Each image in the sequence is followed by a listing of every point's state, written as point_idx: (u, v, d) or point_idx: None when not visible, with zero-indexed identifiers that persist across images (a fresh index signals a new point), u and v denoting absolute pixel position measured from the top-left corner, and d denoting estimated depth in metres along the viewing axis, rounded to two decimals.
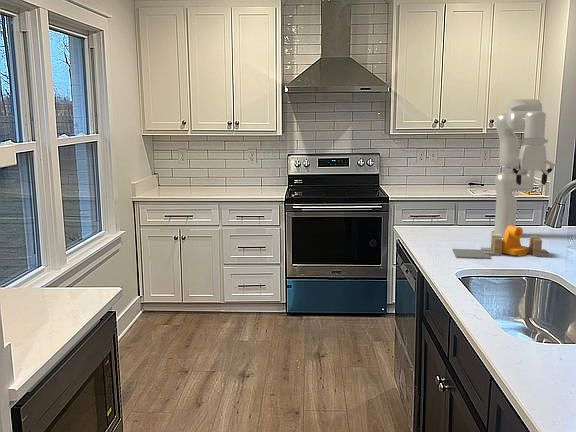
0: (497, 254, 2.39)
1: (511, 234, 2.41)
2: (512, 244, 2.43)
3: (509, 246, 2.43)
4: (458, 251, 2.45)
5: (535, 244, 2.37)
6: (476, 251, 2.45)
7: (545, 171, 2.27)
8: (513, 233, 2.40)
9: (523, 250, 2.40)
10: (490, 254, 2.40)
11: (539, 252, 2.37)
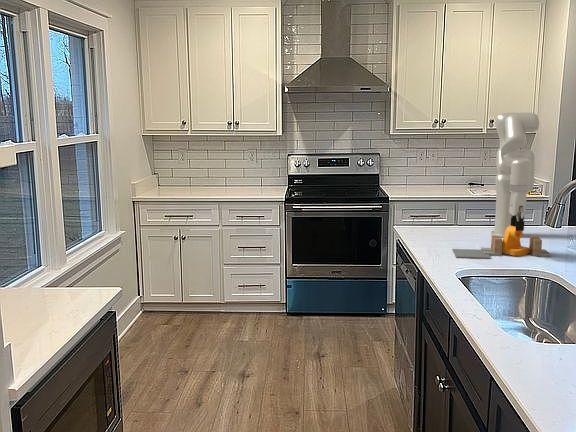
0: (497, 254, 2.39)
1: (511, 234, 2.41)
2: (512, 244, 2.43)
3: (509, 247, 2.43)
4: (458, 251, 2.45)
5: (535, 244, 2.37)
6: (476, 251, 2.45)
7: None
8: (513, 233, 2.40)
9: (523, 250, 2.40)
10: (490, 254, 2.40)
11: (539, 252, 2.37)
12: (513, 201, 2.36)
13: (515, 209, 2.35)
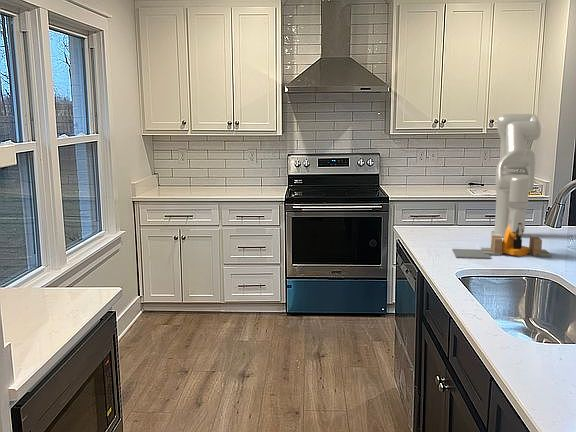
0: (497, 254, 2.39)
1: (511, 234, 2.40)
2: (512, 244, 2.43)
3: (509, 246, 2.42)
4: (458, 251, 2.45)
5: (535, 244, 2.37)
6: (476, 251, 2.45)
7: None
8: (513, 233, 2.39)
9: (523, 250, 2.39)
10: (490, 254, 2.40)
11: (539, 252, 2.37)
12: (512, 218, 2.38)
13: (514, 226, 2.36)
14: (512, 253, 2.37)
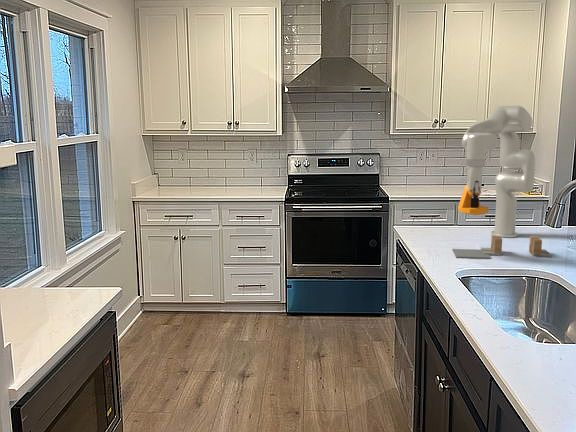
0: (497, 254, 2.39)
1: (469, 193, 2.36)
2: (470, 203, 2.39)
3: (467, 206, 2.38)
4: (458, 251, 2.45)
5: (535, 244, 2.37)
6: (476, 251, 2.45)
7: None
8: (470, 191, 2.35)
9: (481, 209, 2.35)
10: (490, 254, 2.40)
11: (539, 252, 2.37)
12: (469, 176, 2.34)
13: (471, 184, 2.32)
14: (469, 212, 2.33)
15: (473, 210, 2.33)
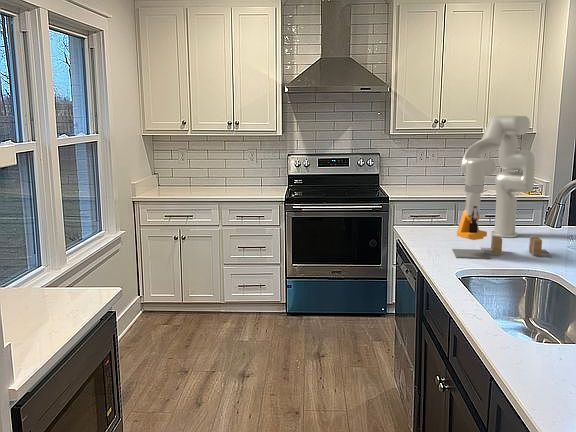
0: (497, 254, 2.39)
1: (467, 218, 2.38)
2: (468, 228, 2.41)
3: (465, 230, 2.40)
4: (458, 251, 2.45)
5: (535, 244, 2.37)
6: (476, 251, 2.45)
7: None
8: (469, 216, 2.37)
9: (479, 234, 2.37)
10: (490, 254, 2.40)
11: (539, 252, 2.37)
12: (468, 201, 2.36)
13: (469, 209, 2.34)
14: (467, 237, 2.35)
15: (471, 235, 2.35)
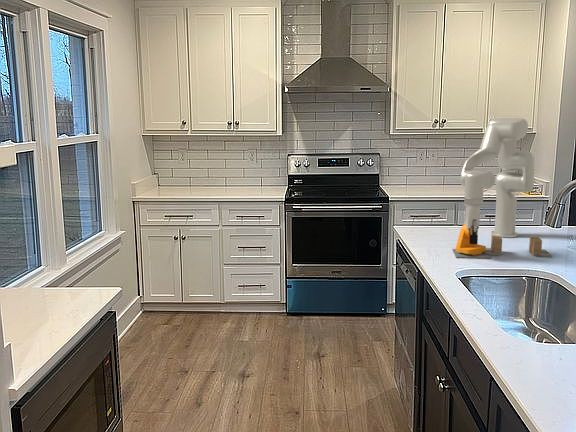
0: (497, 254, 2.39)
1: (466, 233, 2.39)
2: (467, 243, 2.42)
3: (464, 245, 2.41)
4: None
5: (535, 244, 2.37)
6: None
7: None
8: (467, 232, 2.38)
9: (478, 249, 2.39)
10: (490, 254, 2.40)
11: (539, 252, 2.37)
12: (467, 214, 2.37)
13: (469, 223, 2.35)
14: (467, 252, 2.37)
15: (471, 251, 2.36)
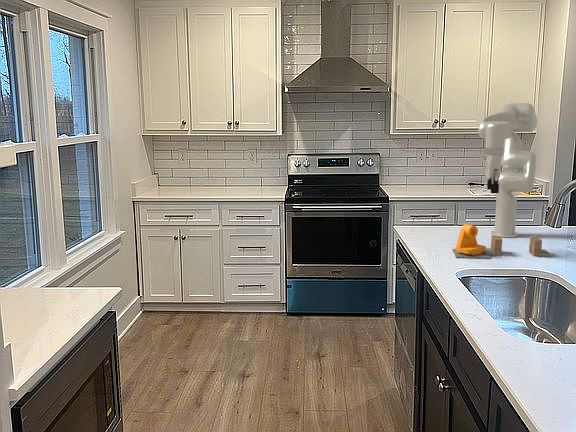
0: (497, 254, 2.39)
1: (466, 233, 2.39)
2: (467, 243, 2.42)
3: (464, 245, 2.41)
4: None
5: (535, 244, 2.37)
6: None
7: None
8: (467, 232, 2.38)
9: (478, 249, 2.39)
10: (490, 254, 2.40)
11: (539, 252, 2.37)
12: (488, 164, 2.40)
13: (490, 172, 2.39)
14: (467, 252, 2.37)
15: (471, 251, 2.36)
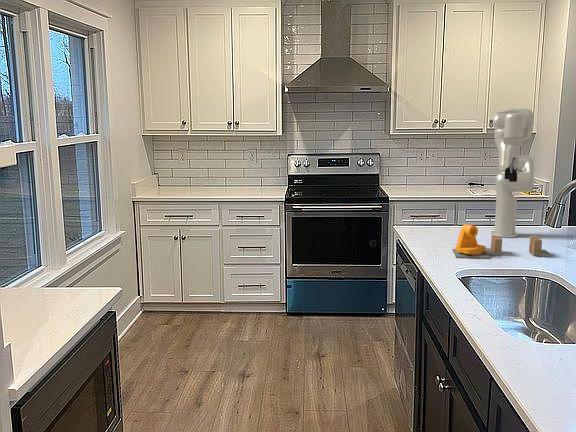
0: (497, 254, 2.39)
1: (466, 233, 2.39)
2: (467, 243, 2.42)
3: (464, 245, 2.41)
4: None
5: (535, 244, 2.37)
6: None
7: None
8: (467, 232, 2.38)
9: (478, 249, 2.39)
10: (490, 254, 2.40)
11: (539, 252, 2.37)
12: (507, 153, 2.46)
13: (508, 161, 2.44)
14: (467, 252, 2.37)
15: (471, 251, 2.36)
